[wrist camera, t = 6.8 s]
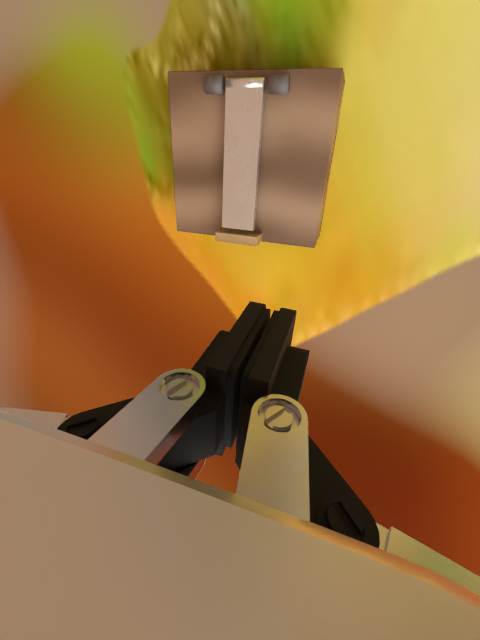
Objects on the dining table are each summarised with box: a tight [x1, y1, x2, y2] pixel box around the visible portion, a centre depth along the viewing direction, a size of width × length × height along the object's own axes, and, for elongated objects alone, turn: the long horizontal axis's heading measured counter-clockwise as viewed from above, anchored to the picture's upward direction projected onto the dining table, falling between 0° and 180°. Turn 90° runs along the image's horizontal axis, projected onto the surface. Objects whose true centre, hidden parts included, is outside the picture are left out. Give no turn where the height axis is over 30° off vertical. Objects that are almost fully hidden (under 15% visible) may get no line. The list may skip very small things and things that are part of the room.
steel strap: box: [222, 77, 266, 231], centre depth 26 cm, size 11×3×1 cm, turn 178°
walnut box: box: [168, 68, 345, 248], centre depth 28 cm, size 13×14×7 cm
